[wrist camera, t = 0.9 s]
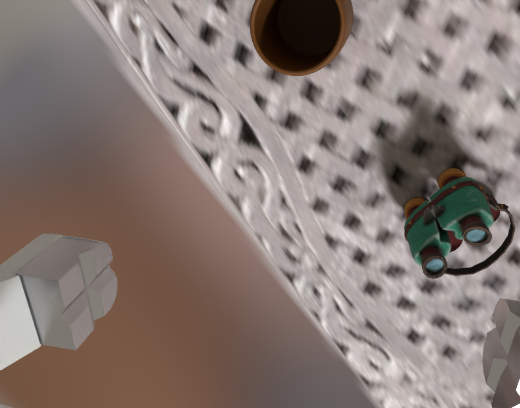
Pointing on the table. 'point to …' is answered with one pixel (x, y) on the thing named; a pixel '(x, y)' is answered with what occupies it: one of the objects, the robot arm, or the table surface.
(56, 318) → the robot arm
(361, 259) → the table surface
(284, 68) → the mug
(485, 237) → the binoculars
